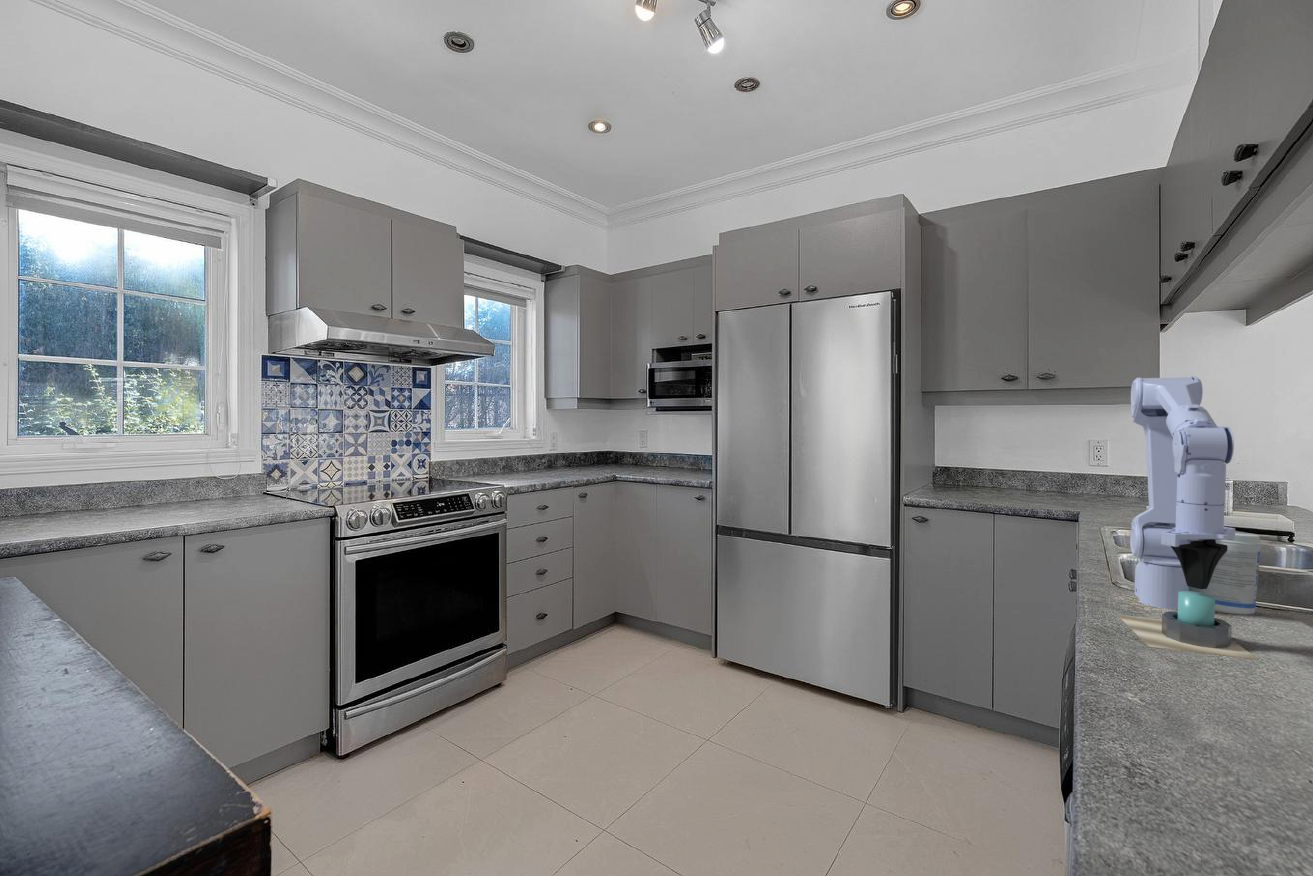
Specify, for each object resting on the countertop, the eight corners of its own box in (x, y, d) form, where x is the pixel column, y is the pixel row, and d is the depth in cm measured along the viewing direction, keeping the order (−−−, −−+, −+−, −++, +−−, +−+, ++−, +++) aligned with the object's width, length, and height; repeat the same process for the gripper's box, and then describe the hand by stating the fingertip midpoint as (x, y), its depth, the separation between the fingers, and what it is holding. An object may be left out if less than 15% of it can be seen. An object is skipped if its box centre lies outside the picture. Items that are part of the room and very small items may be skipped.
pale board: (1116, 620, 108) (1117, 614, 108) (1209, 630, 103) (1209, 624, 103) (1149, 652, 94) (1149, 646, 94) (1258, 666, 89) (1259, 659, 89)
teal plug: (1172, 631, 100) (1173, 589, 100) (1206, 635, 98) (1207, 592, 98) (1183, 641, 96) (1185, 597, 95) (1219, 645, 94) (1220, 600, 94)
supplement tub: (1269, 620, 108) (1277, 538, 107) (1211, 614, 109) (1219, 533, 108) (1224, 604, 117) (1232, 529, 117) (1171, 599, 118) (1179, 524, 118)
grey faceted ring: (1154, 626, 102) (1155, 609, 102) (1215, 633, 99) (1216, 615, 99) (1173, 643, 95) (1174, 624, 95) (1240, 651, 92) (1241, 631, 92)
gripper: (1199, 509, 90) (1196, 599, 90) (1260, 503, 95) (1256, 589, 95) (1147, 502, 97) (1145, 586, 97) (1206, 497, 101) (1203, 578, 102)
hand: (1197, 587), depth 97 cm, fingers closed
